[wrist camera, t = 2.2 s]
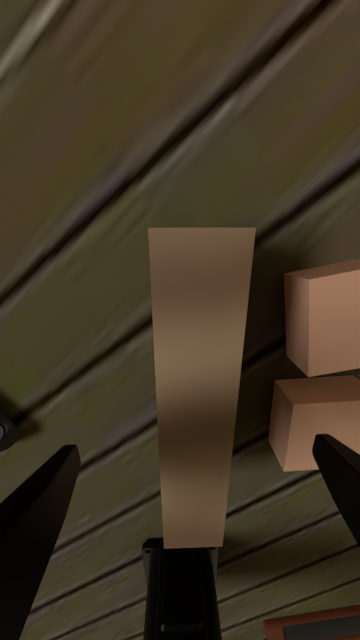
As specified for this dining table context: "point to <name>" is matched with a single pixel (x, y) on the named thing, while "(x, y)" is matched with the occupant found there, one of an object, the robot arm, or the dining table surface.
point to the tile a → (313, 417)
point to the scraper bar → (197, 372)
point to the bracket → (7, 433)
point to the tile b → (323, 318)
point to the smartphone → (316, 625)
